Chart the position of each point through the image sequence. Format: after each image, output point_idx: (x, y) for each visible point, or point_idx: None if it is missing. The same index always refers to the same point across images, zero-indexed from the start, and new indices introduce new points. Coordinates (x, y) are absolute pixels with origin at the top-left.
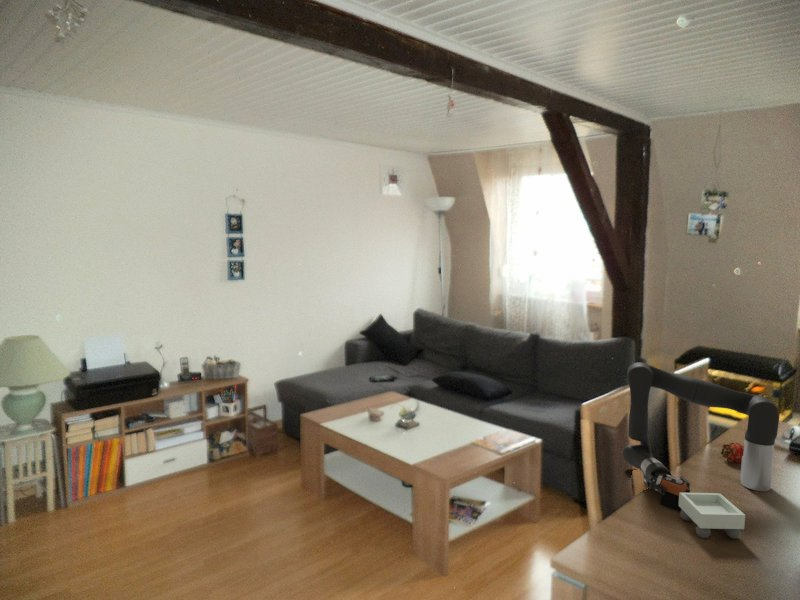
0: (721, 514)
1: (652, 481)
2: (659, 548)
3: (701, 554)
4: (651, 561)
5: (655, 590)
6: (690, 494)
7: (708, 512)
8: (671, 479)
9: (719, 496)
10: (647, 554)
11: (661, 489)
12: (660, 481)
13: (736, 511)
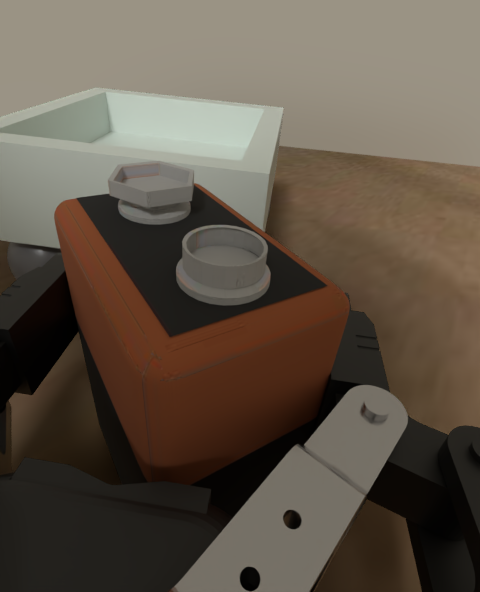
0: (195, 98)
1: (467, 484)
2: (430, 223)
3: (305, 196)
4: (464, 201)
5: (465, 167)
6: (197, 156)
7: (242, 106)
8: (198, 251)
9: (2, 130)
10: (474, 215)
11: (361, 316)
12: (304, 447)
13: (98, 97)
